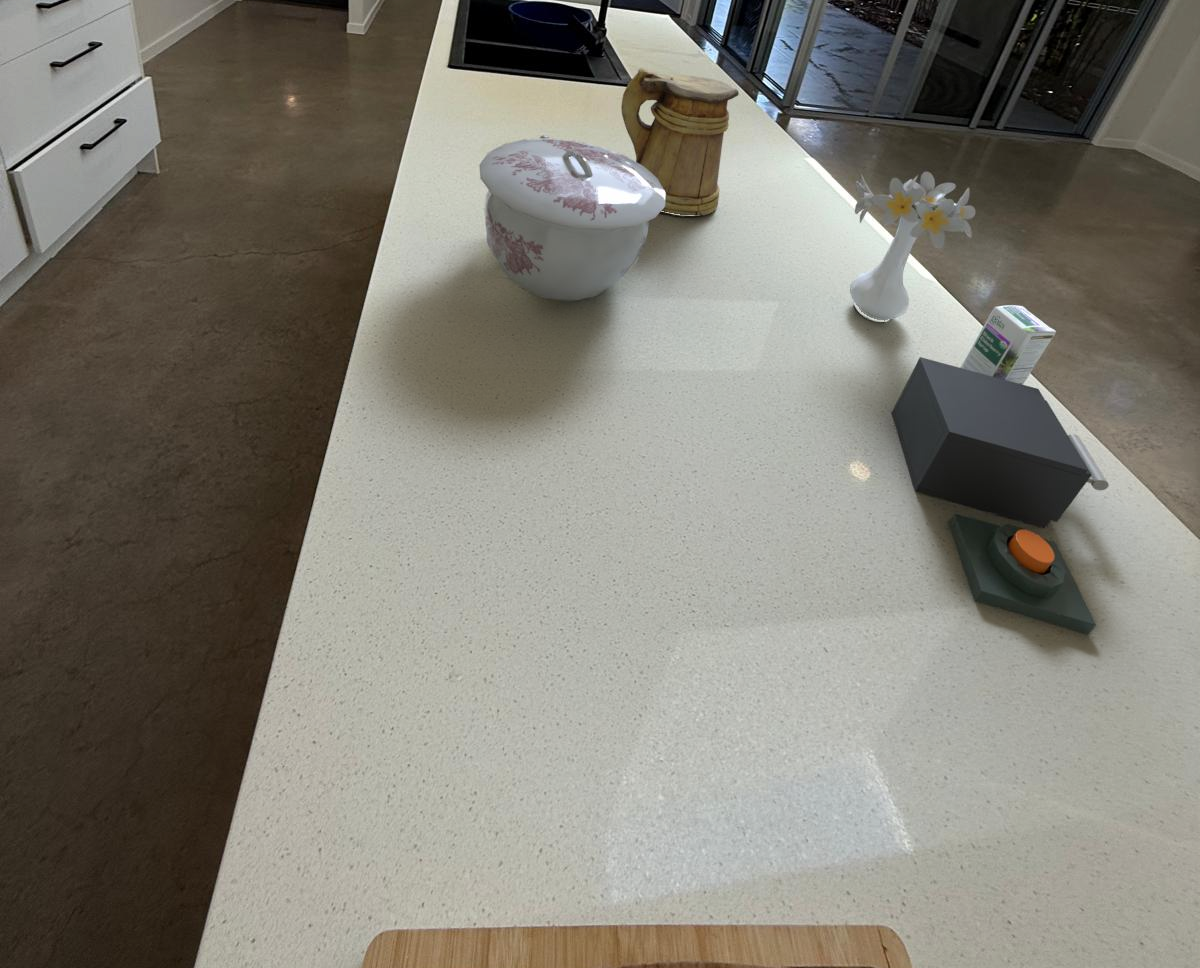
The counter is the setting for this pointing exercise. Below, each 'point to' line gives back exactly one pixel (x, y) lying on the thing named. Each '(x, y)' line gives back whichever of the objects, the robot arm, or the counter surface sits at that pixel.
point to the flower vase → (905, 238)
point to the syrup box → (1009, 344)
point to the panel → (1017, 577)
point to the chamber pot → (566, 215)
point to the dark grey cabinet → (985, 443)
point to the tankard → (680, 136)
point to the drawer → (1090, 476)
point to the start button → (1031, 551)
